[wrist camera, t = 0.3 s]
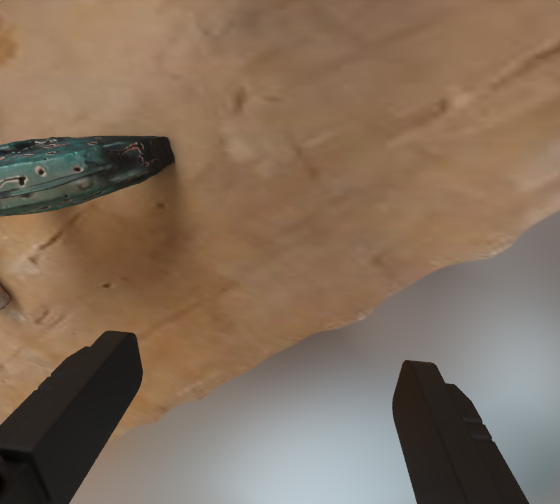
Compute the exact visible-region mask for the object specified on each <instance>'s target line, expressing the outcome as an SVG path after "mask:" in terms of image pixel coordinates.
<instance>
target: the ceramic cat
mask: <svg viewBox="0 0 560 504" xmlns="http://www.w3.org/2000/svg"><path fill="white" fill-rule="evenodd" d="M174 161H175V160H174V156H173V153H172V150H171V148H170V144H169V140H168V138H167V137H156V136H92V137H79V138H71V137H58V138H56V137H51V138H48V139H31V140H25V141H17V142H11V143H7V144H4V145H0V216H11V215H24V214H32V213H40V212H48V211H54V210H58V209H60V208H64V207H68V206H74V205H78V204H81V203H84V202H86V201H89V200H92V199H94V198H97V197H100V196H104V195H107V194H110V193H112V192H115V191H117V190H120V189H123V188H126V187H129V186H131V185H135V184H139V183H141V182H143V181H145V180H147V179H148V178H149V177H151V176H154V175H156V174H158V173H159V172H161V171H162V170H163V169H164V168H165V167H166V166H168V165H170V164H171V163H173V162H174Z"/></svg>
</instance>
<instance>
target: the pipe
mask: <svg viewBox="0 0 560 504" xmlns="http://www.w3.org/2000/svg"><path fill="white" fill-rule="evenodd" d="M10 301H11V297H10V296H9V295H8V294H7V293H6V291H5V290H4V289H3V288H2V287H1V286H0V310H1V309H4V307H5V306H6V305H7V304H8V303H9V302H10Z"/></svg>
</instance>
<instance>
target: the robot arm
mask: <svg viewBox="0 0 560 504" xmlns="http://www.w3.org/2000/svg"><path fill="white" fill-rule="evenodd" d="M142 376H143V370H142V364H141V359H140V353H139V348H138V342H137V338H136V335H135V334H134V333H129V332H119V331H106V332H104V333H103V334H102V335H101V336H100V337H99V338H98V339H97V340H96V341H95V342H94V344H93V345H92V346H91V347H86V346H85V347H84V348H82V349H81V350H79V351H77V352H76V353H74V354H73V355H71V356H69V357H68V358H66V359H65V360H64V361H63V362H62V363H61V364H60V365H59V366H58V367H57V368H56V369H55V370H54V371H53V372H52V373H51V376H50V377H47V378H46V379H45V380H44V382H43V383H42V384H41V385H40V386H39V387H38V390H35V391H34V392H33V393H32V394H31V395H30V396H29V397H28V398H27V399H26V400H25V401H24V402H23V403H22V404H21V405H20V406H19V407H18V408H17V409H16V410H15V411H14V412H13V413H12V414H11V415H10V416H9V417H8V418H7V419H6V420H5V421H4V422H3V423H2V424H1V425H0V504H69V503H70V501H71V499H72V498H73V496H74V495H75V493H76V491H77V490H78V488H79V487H80V485H81V483H82V482H83V480H84V478H85V477H86V475H87V474H88V472H89V470H90V469H91V467H92V465H93V464H94V462H95V460H96V459H97V457H98V456H99V454H100V452H101V451H102V449H103V447H104V446H105V444H106V442H107V441H108V439H109V438H110V436H111V434H112V433H113V431H114V429H115V428H116V426H117V425H118V423H119V421H120V420H121V418H122V416H123V415H124V413H125V411H126V410H127V408H128V407H129V405H130V403H131V402H132V400H133V398H134V397H135V395H136V393H137V392H138V390H139V387H140V385H141V381H142ZM392 410H393V418H394V422H395V426H396V429H397V433H398V436H399V440H400V444H401V447H402V451H403V455H404V458H405V462H406V465H407V469H408V473H409V476H410V480H411V483H412V487H413V491H414V494H415V498H416V501H417V504H529V502H528V500H527V499H526V497H525V495H524V494H523V492H522V490H521V488H520V486H519V485H518V483H517V481H516V479H515V478H514V476H513V474H512V472H511V471H510V469H509V467H508V465H507V463H506V462H505V460H504V458H503V456H502V455H501V453H500V451H499V449H498V447H497V446H496V444H495V442H493V441H492V437H491V435H490V433H489V432H488V430H487V428H486V426H485V425H483V424H482V419H481V417H480V416H479V414H478V412H477V410H476V409H475V407H474V405H473V403H472V402H471V400H470V399H469V398H468V397H467V396H466V395H465V394H464V393H463V392H462V391H461V390H460V389H459V388H458V387H457V386H456V385H454V384H446V383H445V382H444V380H443V378H442V376H441V374H440V372H439V370H438V368H437V366H436V365H435V364H434V363H431V362H421V361H410V360H405V361H404V362H403V364H402V368H401V371H400V375H399V378H398V383H397V385H396V389H395V393H394V396H393V403H392Z"/></svg>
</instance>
